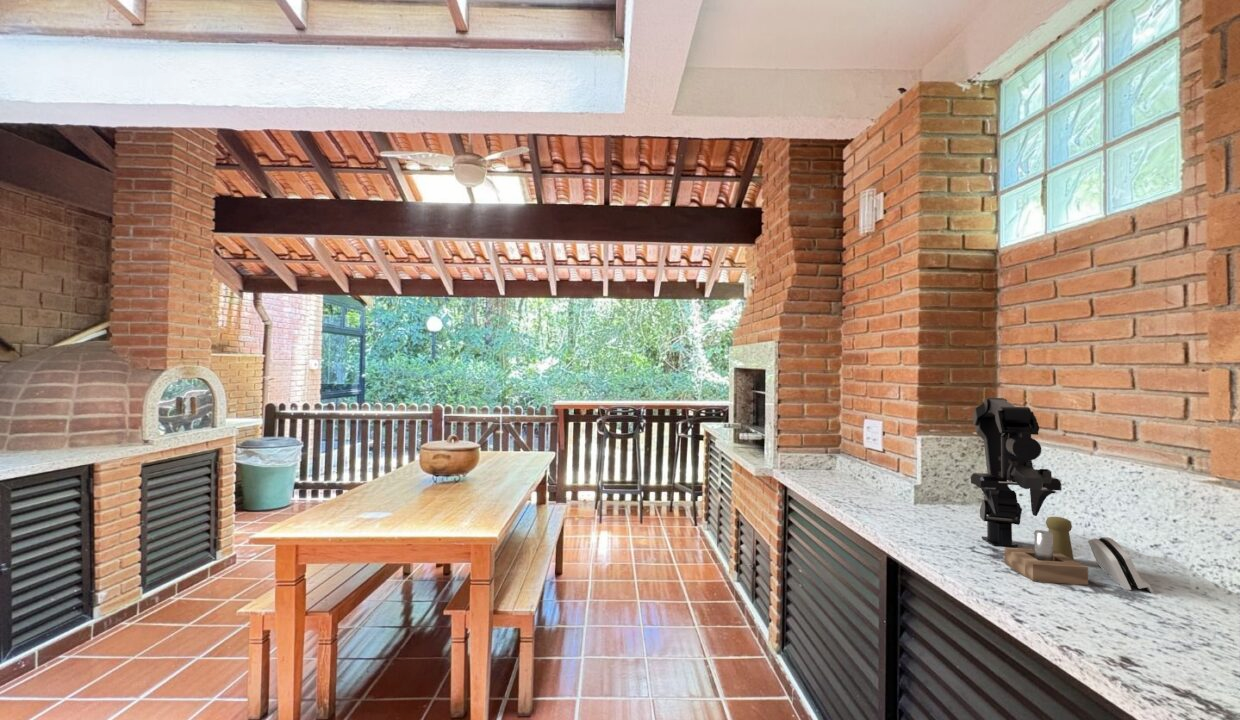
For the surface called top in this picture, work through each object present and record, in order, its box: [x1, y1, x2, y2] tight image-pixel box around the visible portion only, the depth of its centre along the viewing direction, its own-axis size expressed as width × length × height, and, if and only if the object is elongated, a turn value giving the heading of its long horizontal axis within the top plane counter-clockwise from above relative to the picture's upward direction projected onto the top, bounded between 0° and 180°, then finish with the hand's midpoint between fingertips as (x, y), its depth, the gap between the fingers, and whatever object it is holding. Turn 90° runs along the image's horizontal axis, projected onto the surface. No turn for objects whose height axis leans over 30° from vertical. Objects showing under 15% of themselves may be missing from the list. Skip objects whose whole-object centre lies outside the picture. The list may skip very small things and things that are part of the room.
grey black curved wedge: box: [1088, 537, 1155, 594], centre depth 124 cm, size 17×5×10 cm, turn 153°
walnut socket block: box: [1003, 547, 1089, 586], centre depth 127 cm, size 12×12×4 cm
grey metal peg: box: [1034, 529, 1053, 561], centre depth 127 cm, size 4×4×10 cm
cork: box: [1045, 516, 1075, 561], centre depth 136 cm, size 6×6×11 cm
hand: (1015, 514), depth 135 cm, fingers open, 9 cm apart
